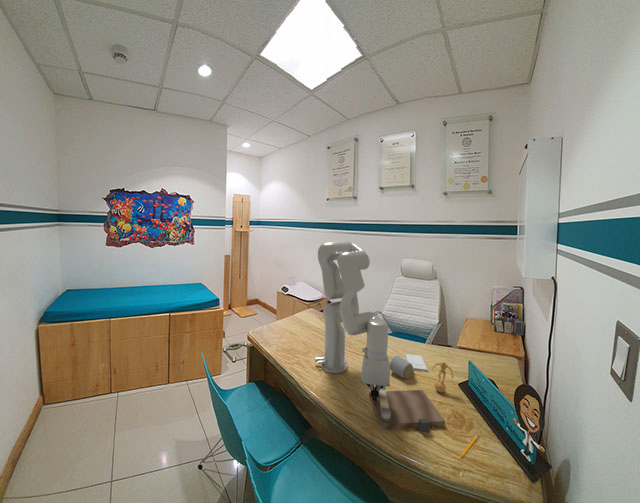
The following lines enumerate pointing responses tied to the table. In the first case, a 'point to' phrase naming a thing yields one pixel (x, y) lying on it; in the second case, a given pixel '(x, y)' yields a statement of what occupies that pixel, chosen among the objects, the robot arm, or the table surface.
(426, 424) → the leg stop
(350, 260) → the robot arm
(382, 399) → the stool leg
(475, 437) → the pencil
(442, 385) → the figurine
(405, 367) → the grey cylinder
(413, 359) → the external hard drive
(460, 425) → the table surface
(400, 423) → the brown wooden board
